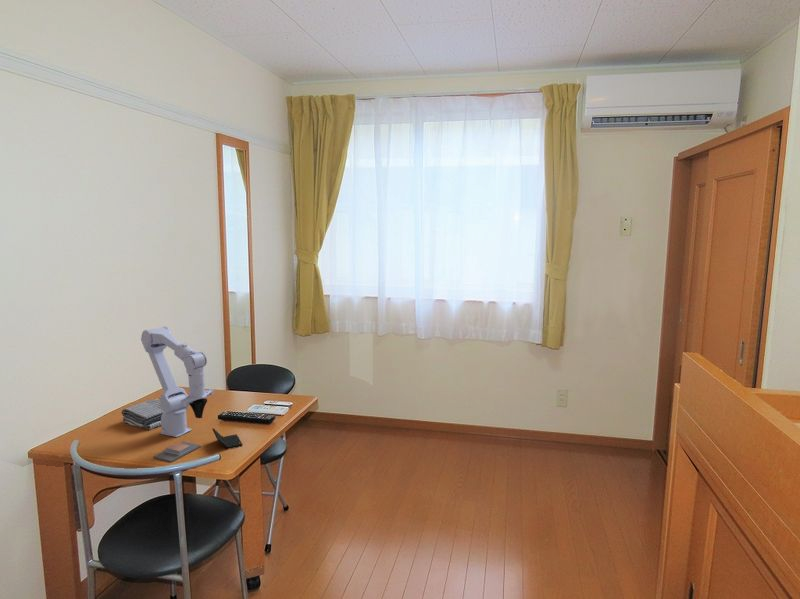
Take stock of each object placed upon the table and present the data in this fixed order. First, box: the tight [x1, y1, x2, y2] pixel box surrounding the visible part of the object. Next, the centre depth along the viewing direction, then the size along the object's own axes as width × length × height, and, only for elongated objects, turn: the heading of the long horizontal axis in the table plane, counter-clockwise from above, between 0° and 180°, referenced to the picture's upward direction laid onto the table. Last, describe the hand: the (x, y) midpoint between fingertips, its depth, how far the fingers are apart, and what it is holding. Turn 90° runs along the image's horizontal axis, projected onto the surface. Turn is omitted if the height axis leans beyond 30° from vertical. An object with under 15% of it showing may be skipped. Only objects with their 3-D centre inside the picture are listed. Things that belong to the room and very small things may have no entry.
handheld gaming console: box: [212, 427, 243, 450], centre depth 196 cm, size 12×7×10 cm
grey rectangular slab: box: [152, 441, 202, 463], centre depth 189 cm, size 9×14×1 cm, turn 157°
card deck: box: [165, 442, 190, 455], centre depth 189 cm, size 7×2×5 cm
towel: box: [121, 398, 163, 431], centre depth 218 cm, size 15×18×8 cm
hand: (198, 417), depth 198 cm, fingers closed
